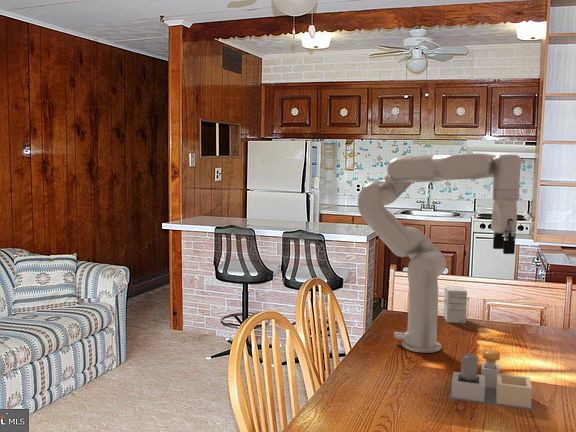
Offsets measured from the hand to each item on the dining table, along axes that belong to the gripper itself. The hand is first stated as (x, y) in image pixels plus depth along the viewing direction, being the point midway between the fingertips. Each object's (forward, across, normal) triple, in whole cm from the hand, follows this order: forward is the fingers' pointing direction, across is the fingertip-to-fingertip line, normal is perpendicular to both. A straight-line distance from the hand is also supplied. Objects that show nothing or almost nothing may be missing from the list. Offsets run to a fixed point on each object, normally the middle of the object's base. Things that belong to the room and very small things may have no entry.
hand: (503, 251), depth 181 cm
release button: (+30, +24, -10) cm, 40 cm away
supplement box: (+34, -45, -3) cm, 57 cm away
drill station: (+34, +29, -11) cm, 47 cm away
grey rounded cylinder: (+33, +31, -18) cm, 48 cm away
